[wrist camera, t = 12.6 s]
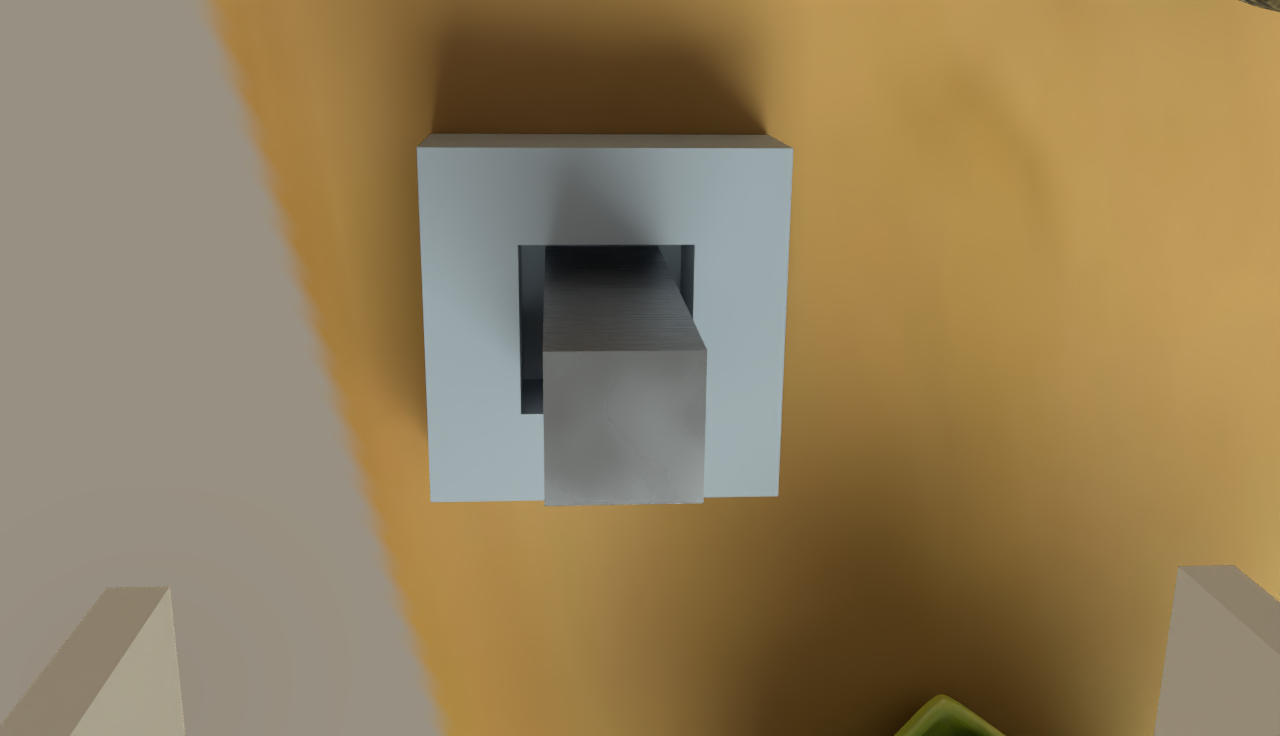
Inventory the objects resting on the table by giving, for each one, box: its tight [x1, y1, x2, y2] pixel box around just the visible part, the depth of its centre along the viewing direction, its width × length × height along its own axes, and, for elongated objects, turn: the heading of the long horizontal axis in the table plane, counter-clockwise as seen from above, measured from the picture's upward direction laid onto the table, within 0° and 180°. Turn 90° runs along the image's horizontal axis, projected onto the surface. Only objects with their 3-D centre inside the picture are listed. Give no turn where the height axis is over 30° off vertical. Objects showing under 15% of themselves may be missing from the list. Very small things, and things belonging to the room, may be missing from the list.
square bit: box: [543, 246, 707, 506], centre depth 31 cm, size 3×3×12 cm
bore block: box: [417, 134, 793, 502], centre depth 36 cm, size 10×10×4 cm
